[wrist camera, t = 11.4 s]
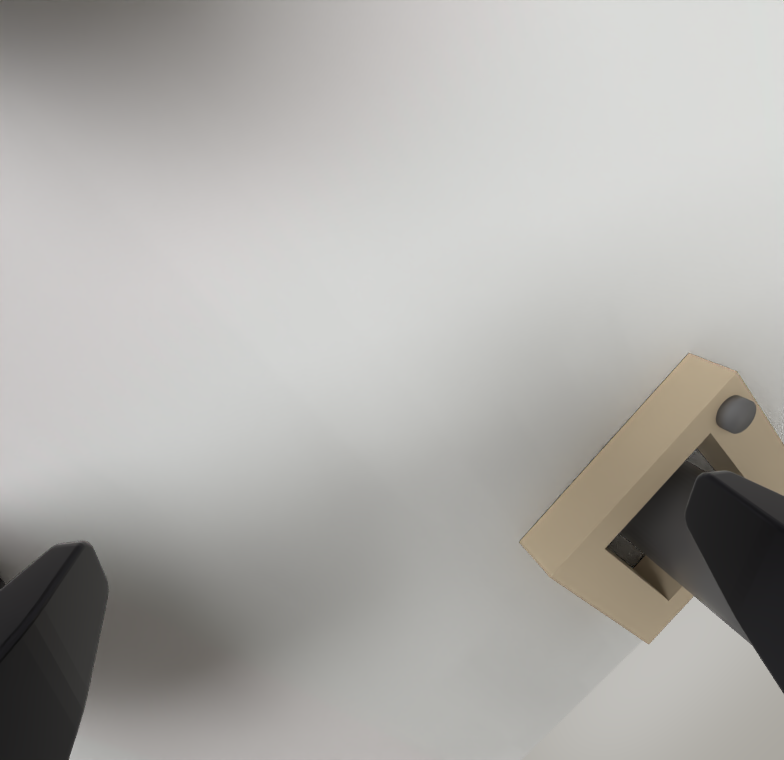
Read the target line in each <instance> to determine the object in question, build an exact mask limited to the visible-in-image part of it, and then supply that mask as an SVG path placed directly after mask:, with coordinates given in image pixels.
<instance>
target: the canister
mask: <svg viewBox="0 0 784 760" xmlns="http://www.w3.org/2000/svg"><path fill="white" fill-rule="evenodd" d="M704 472H705V471H703V470H701V469H700V468H698V467H696V466H695V465H693V464H691V463H689V462H688V461H686V460H685V461H684V462H683V464H682V465H681V466H680V467H679V468H678V469H677V470H676V471H675V472H674V473H673V475H672V476H671V477H670V478H669V479H668V480H667V481H666V482H665V483H664V484H663V485H662V487H661V488H660V489H659V490H658V491H657V492H656V493H655V494H654V495H653V496H652V498H651V499H650V500H649V501H648V502H647V503H646V504H645V505H644V506H643V507H642V509H641V510H640V511H639V512H638V513H637V514H636V515H635V516H634V517H633V518H632V519H631V521H630V522H629V523H628V524H627V525H626V526H625V527H624V528H623V529H622V530H621V532H620V534H621V535H622V536H624V537H625V538H626V539H627V540H628V541H630V542H631V543H632V544H633V545H634V546H635V547H637V548H638V549H639V550H640V551H641V552H643V553H644V554H645V555H646V556H647V557H648V558H650V559H651V560H652V561H653V562H654V563H656V564H657V565H658V566H659V567H660V568H661V569H663V570H664V571H665V572H666V573H667V574H669V575H670V576H671V577H672V578H673V579H674V580H676V581H677V582H678V583H679V584H680V585H682V586H683V587H684V588H685V589H686V590H687V591H689V592H690V593H691V594H692V595H693V596H695V597H696V598H697V599H698V600H699V601H700V602H702V603H703V604H704V605H705V606H706V607H708V608H709V609H710V610H711V611H712V612H714V613H715V614H716V615H717V616H718V617H719V618H721V619H722V620H723V621H724V622H725V623H726V624H728V625H729V626H730V627H731V628H732V629H734V630H735V631H736V632H737V633H738V634H740V635H741V636H742V637H743V638H744V639H745V640H747V641H748V642H749V643H750V644H751V642H750V641H749V639H748V638H747V636H746V635H745V633H744V632H743V630H742V628H741V627H740V625H739V623H738V622H737V620H736V619H735V617H734V615H733V613H732V611H731V610H730V608H729V606H728V604H727V603H726V601H725V599H724V597H723V595H722V593H721V591H720V589H719V587H718V585H717V583H716V582H715V580H714V578H713V576H712V574H711V572H710V570H709V568H708V566H707V564H706V562H705V561H704V559H703V557H702V555H701V553H700V551H699V549H698V547H697V545H696V543H695V541H694V540H693V538H692V536H691V534H690V532H689V530H688V528H687V525H686V522H685V509H686V506H687V503H688V500H689V497H690V494H691V491H692V489H693V486H694V483H695V480H696V478H697V477H698V476H699V475H700V474H701V473H704ZM751 645H752V644H751Z"/></svg>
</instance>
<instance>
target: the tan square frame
mask: <svg viewBox="0 0 784 760" xmlns="http://www.w3.org/2000/svg"><path fill="white" fill-rule="evenodd" d="M696 448H697V449H698V450H699V451H700V452H701V454H702V455H703V456H704V457H705V458H706V460H707V461H708V462H709V463H710V465H711V466H712V467H713V468H714V470H715V471H721V470H725V471H730V472H733V473H735V474H737V475H739V476H742V477H744V478H746V479H748V480H750V481H753V482H755V483H757V484H759V485H761V486H763V487H766V488H768V489H770V490H772V491H774V492H777V493H779V494H781V495H783V496H784V444H783V443H782V441H781V439H780V438H779V436H778V435H777V433H776V432H775V430H774V428H773V427H772V425H771V424H770V422H769V421H768V419H767V417H766V416H765V414H764V413H763V411H762V410H761V408H760V406H759V405H758V403H757V402H756V400H755V399H754V397H753V396H752V394H751V392H750V391H749V389H748V388H747V386H746V385H745V383H744V381H743V380H742V378H741V377H740V375H739V374H738V372H737V371H734V370H732V369H729V368H726V367H724V366H721V365H719V364H716V363H713V362H711V361H708V360H705V359H703V358H700V357H698V356H695V355H692V354H690V353H688V355H687V356H686V357H685V358H684V359H683V360H682V361H681V362H680V363H679V365H678V366H677V367H676V368H675V369H674V370H673V371H672V372H671V373H670V375H669V376H668V377H667V378H666V379H665V380H664V381H663V382H662V384H661V385H660V386H659V387H658V388H657V389H656V390H655V391H654V392H653V394H652V395H651V396H650V397H649V398H648V399H647V400H646V401H645V402H644V404H643V405H642V406H641V407H640V408H639V409H638V410H637V411H636V412H635V414H634V415H633V416H632V417H631V418H630V419H629V420H628V421H627V422H626V424H625V425H624V426H623V427H622V428H621V429H620V430H619V431H618V432H617V434H616V435H615V436H614V437H613V438H612V439H611V440H610V441H609V442H608V444H607V445H606V446H605V447H604V448H603V449H602V450H601V451H600V453H599V454H598V455H597V456H596V457H595V458H594V459H593V460H592V461H591V463H590V464H589V465H588V466H587V467H586V468H585V469H584V470H583V471H582V473H581V474H580V475H579V476H578V477H577V478H576V479H575V480H574V481H573V483H572V484H571V485H570V486H569V487H568V488H567V489H566V490H565V491H564V493H563V494H562V495H561V496H560V497H559V498H558V499H557V500H556V501H555V503H554V504H553V505H552V506H551V507H550V508H549V509H548V510H547V512H546V513H545V514H544V515H543V516H542V517H541V518H540V519H539V520H538V522H537V523H536V524H535V525H534V526H533V527H532V528H531V529H530V530H529V532H528V533H527V534H526V535H525V536H524V537H523V538H522V539H521V540H520V542H519V543H520V544H521V545H522V546H523V547H524V548H525V550H526V551H527V552H528V553H529V554H530V555H531V556H532V557H533V559H534V560H535V561H536V562H537V563H538V564H539V565H540V567H541V568H542V569H543V570H544V571H545V572H546V573H547V575H548V576H549V577H550V578H551V579H553V580H554V581H556V582H557V583H559V584H560V585H562V586H563V587H565V588H566V589H568V590H569V591H571V592H572V593H574V594H575V595H577V596H578V597H580V598H581V599H582V600H584V601H585V602H587V603H588V604H590V605H591V606H593V607H594V608H596V609H597V610H599V611H600V612H602V613H603V614H605V615H606V616H608V617H609V618H610V619H612V620H613V621H615V622H616V623H618V624H619V625H621V626H622V627H624V628H625V629H627V630H628V631H630V632H631V633H633V634H634V635H636V636H637V637H638V638H640V639H641V640H643V641H644V642H646V643H647V644H650V643H651V642H652V640H653V639H654V638H655V637H656V636H657V635H658V634H659V633H660V632H661V631H662V630H663V629H664V628H665V627H666V625H667V624H668V623H669V622H670V621H671V620H672V619H673V618H674V617H675V616H676V615H677V614H678V613H679V612H680V610H681V609H682V608H683V607H684V606H685V605H686V604H687V603H688V602H689V601H690V600H691V599H692V598H693V595H692V594H691V593H690V592H689V591H687V590H686V589H685V588H684V587H683V586H682V585H680V584H679V583H678V582H677V581H676V580H674V579H673V578H672V577H671V576H670V575H669V574H667V573H666V572H665V571H664V570H663V569H661V568H660V567H659V566H658V565H657V564H656V563H654V562H653V561H652V560H651V559H650V558H648V557H647V556H646V555H645V556H644V557H643V558H642V559H641V561H640V562H639V563H638V564H637V565H636V566H635V567H634V568H632V567H631V566H629V565H628V564H627V563H626V562H625V561H623V560H622V559H621V558H620V557H618V556H617V555H616V554H615V553H614V552H612V551H611V550H610V549H609V548H607V546H608V545H609V544H610V543H611V541H612V540H613V539H614V538H615V537H616V536H617V535H618V534H619V533H620V532H621V530H622V529H623V528H624V527H625V526H626V525H627V524H628V523H629V522H630V521H631V519H632V518H633V517H634V516H635V515H636V514H637V513H638V512H639V511H640V510H641V509H642V507H643V506H644V505H645V504H646V503H647V502H648V501H649V500H650V499H651V498H652V496H653V495H654V494H655V493H656V492H657V491H658V490H659V489H660V488H661V487H662V485H663V484H664V483H665V482H666V481H667V480H668V479H669V478H670V477H671V476H672V475H673V473H674V472H675V471H676V470H677V469H678V468H679V467H680V466H681V465H682V464H683V462H684V461H685V460H686V459H687V458H688V457H689V456H690V455H691V454H692V453H693V451H694V450H695V449H696Z"/></svg>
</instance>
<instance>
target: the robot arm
mask: <svg viewBox="0 0 784 760" xmlns="http://www.w3.org/2000/svg"><path fill="white" fill-rule="evenodd" d="M685 522H686V525H687V528H688V530H689V532H690V534H691V536H692V538H693V540H694V541H695V543H696V545H697V547H698V549H699V551H700V553H701V555H702V557H703V559H704V561H705V562H706V564H707V566H708V568H709V570H710V572H711V574H712V576H713V578H714V580H715V582H716V583H717V585H718V587H719V589H720V591H721V593H722V595H723V597H724V599H725V601H726V603H727V604H728V606H729V608H730V610H731V611H732V613H733V615H734V617H735V619H736V620H737V622H738V623H739V625H740V627H741V628H742V630H743V632H744V633H745V635H746V636H747V638H748V639H749V641H750V642H751V644H752V646H753V647H754V649H755V650H756V652H757V653H758V654H759V656H760V658H761V659H762V661H763V663H764V664H765V666H766V667H767V669H768V670H769V672H770V673H771V675H772V676H773V678H774V680H775V681H776V683H777V684H778V685H779V687H780V689H781V690H782V692H783V693H784V496H783V495H781V494H779V493H777V492H774V491H772V490H770V489H768V488H766V487H763V486H761V485H759V484H757V483H755V482H753V481H750V480H748V479H746V478H744V477H742V476H739V475H737V474H735V473H733V472H730V471H725V470H721V471H712V472H704V473H701V474H700V475H699V476H698V477H697V478H696V480H695V483H694V486H693V489H692V491H691V494H690V497H689V500H688V503H687V506H686V509H685ZM107 599H108V582H107V578H106V576H105V574H104V571H103V569H102V567H101V564H100V562H99V560H98V557H97V555H96V553H95V550H94V548H93V546H92V545H91V544H90V543H89V542H87V541H78V542H69V543H60V544H57V545H54V546H53V547H51V548H50V549H49V550H47V551H46V552H45V553H44V554H43V555H41V556H40V557H39V558H38V559H37V560H35V561H34V562H33V563H32V564H31V565H29V566H28V567H27V568H26V569H25V570H23V571H22V572H21V573H20V574H19V575H17V576H16V577H15V578H14V579H13V580H11V581H10V582H9V583H8V584H7V585H5V583H4V582H3V581H2V580H1V579H0V760H69V757H70V754H71V751H72V748H73V744H74V741H75V738H76V735H77V732H78V729H79V725H80V722H81V718H82V715H83V712H84V708H85V703H86V699H87V695H88V691H89V686H90V681H91V676H92V671H93V667H94V662H95V657H96V652H97V647H98V643H99V638H100V633H101V628H102V623H103V619H104V614H105V609H106V604H107Z"/></svg>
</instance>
